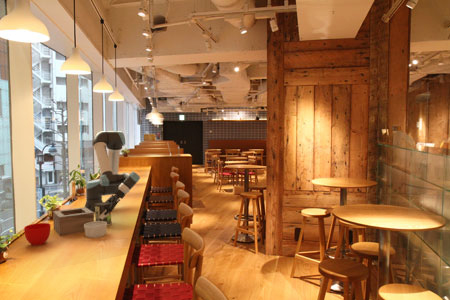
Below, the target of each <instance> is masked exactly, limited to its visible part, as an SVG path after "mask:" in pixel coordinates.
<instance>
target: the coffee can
mask: <svg viewBox="0 0 450 300" xmlns="http://www.w3.org/2000/svg"><path fill="white" fill-rule="evenodd" d="M109 205H110V202H105V201H103V202H100V203H96V204H95V211H94V212H95V213H94V221H104V222H107V226H110V225H112V212H111V211H110V212H109V213H108V214H107V215H106V216H105V217H104V219H103V220H102V219H101V218H99V217H100V215H101V214H102V213H103V212H104V211H105V210H106V208H108V207H109Z"/></svg>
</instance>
